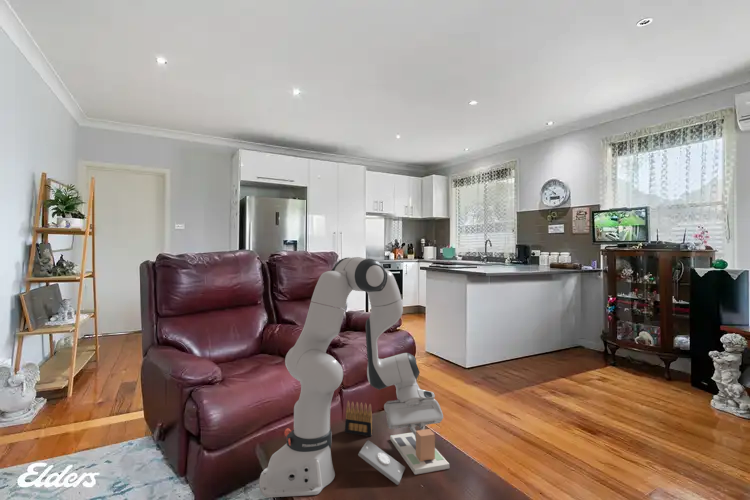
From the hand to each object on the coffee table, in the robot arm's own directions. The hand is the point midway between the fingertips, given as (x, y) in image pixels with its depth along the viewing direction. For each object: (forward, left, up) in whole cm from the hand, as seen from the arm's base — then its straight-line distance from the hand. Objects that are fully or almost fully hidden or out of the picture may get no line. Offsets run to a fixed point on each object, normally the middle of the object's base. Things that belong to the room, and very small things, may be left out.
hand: (420, 438), depth 128 cm
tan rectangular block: (0, -3, -4) cm, 6 cm away
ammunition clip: (-16, +22, -6) cm, 28 cm away
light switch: (-16, -6, -6) cm, 18 cm away
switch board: (0, +3, -6) cm, 7 cm away
